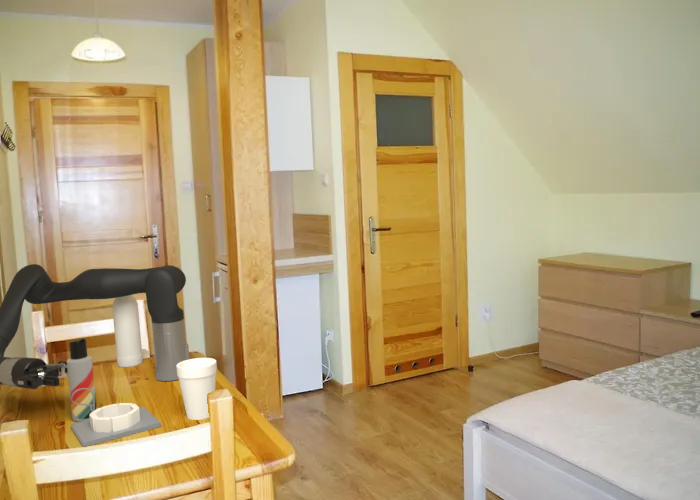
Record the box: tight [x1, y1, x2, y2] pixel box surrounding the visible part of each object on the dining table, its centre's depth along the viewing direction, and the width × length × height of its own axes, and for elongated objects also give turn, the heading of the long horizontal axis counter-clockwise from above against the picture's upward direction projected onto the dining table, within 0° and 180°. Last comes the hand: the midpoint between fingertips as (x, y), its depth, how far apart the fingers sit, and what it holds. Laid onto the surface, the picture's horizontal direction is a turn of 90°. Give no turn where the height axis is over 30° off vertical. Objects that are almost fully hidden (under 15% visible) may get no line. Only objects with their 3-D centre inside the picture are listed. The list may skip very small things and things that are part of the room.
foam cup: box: [176, 357, 218, 421], centre depth 146 cm, size 10×9×13 cm
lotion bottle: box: [66, 337, 98, 423], centre depth 148 cm, size 6×6×20 cm
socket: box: [70, 402, 162, 448], centre depth 141 cm, size 17×14×4 cm
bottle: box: [111, 295, 144, 368], centre depth 194 cm, size 8×8×30 cm
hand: (71, 376), depth 148 cm, fingers open, 8 cm apart
